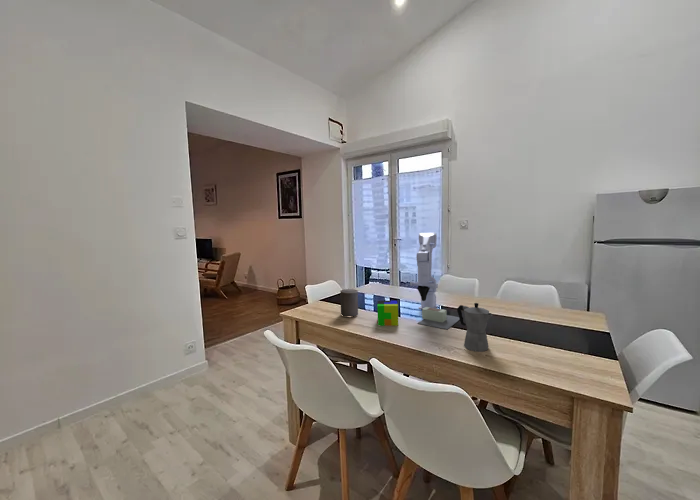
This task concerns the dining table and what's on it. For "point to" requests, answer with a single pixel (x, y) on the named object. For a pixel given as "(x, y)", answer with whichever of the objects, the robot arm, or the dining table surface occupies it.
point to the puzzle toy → (387, 313)
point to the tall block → (434, 314)
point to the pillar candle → (349, 302)
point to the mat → (443, 325)
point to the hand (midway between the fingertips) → (423, 300)
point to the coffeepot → (475, 327)
